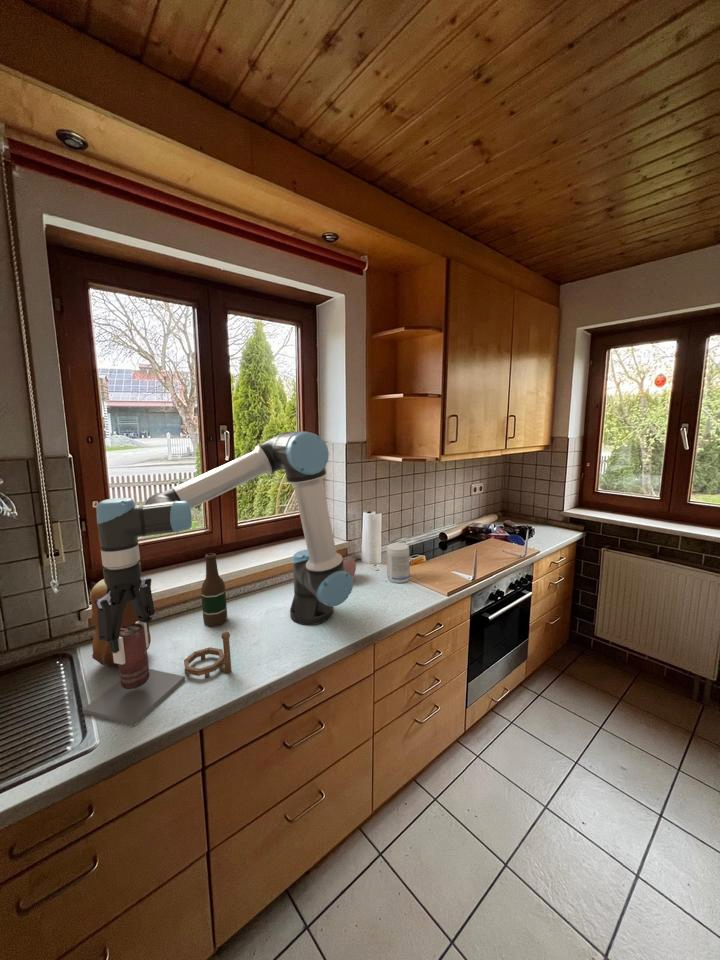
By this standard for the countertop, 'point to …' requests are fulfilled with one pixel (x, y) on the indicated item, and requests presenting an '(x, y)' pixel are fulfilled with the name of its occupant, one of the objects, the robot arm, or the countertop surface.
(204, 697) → the countertop surface
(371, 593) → the countertop surface
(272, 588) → the countertop surface
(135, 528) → the robot arm
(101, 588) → the butternut squash
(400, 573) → the supplement tub
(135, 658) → the can
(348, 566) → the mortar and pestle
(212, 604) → the beer bottle
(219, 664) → the ring stand
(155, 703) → the plate
